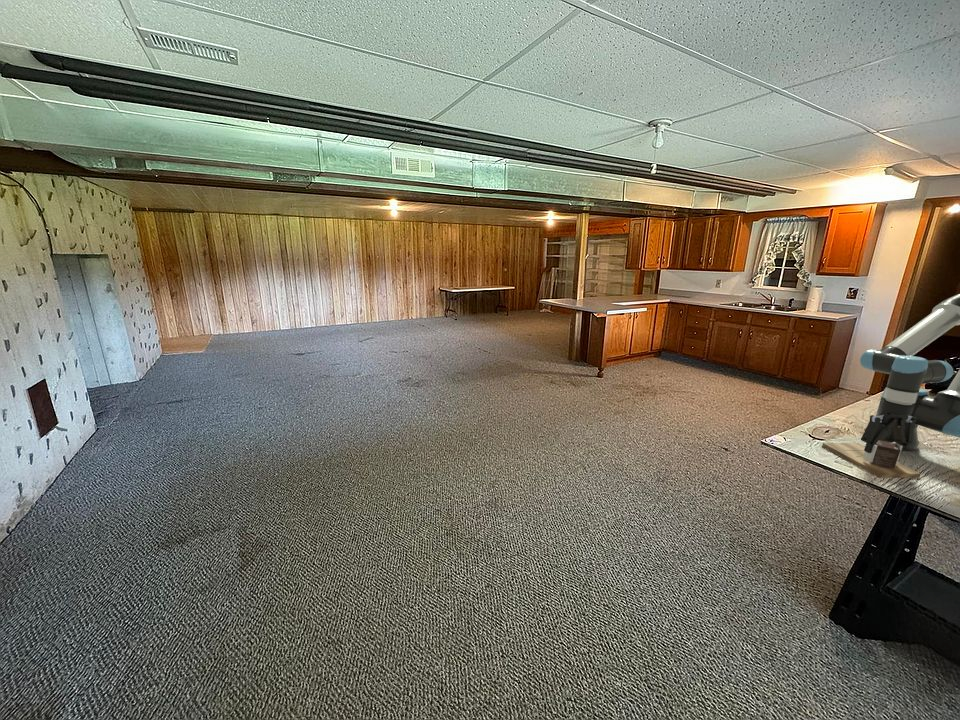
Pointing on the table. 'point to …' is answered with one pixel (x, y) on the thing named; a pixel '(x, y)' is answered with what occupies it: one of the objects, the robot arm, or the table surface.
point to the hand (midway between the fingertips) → (879, 460)
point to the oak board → (855, 456)
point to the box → (886, 454)
